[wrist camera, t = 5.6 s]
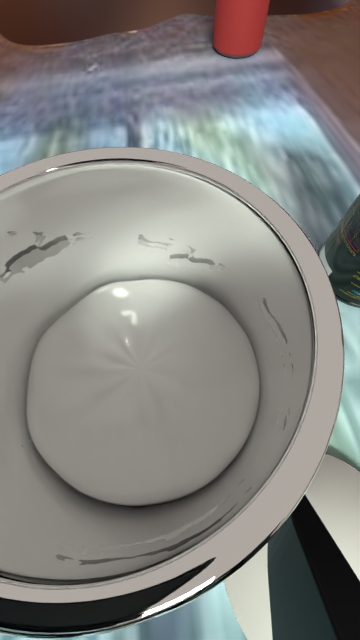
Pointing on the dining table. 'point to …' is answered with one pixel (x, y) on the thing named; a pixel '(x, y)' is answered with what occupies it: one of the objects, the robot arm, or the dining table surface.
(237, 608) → the stone coaster
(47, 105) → the dining table surface
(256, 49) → the beer can
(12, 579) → the beer glass
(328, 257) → the supplement container
